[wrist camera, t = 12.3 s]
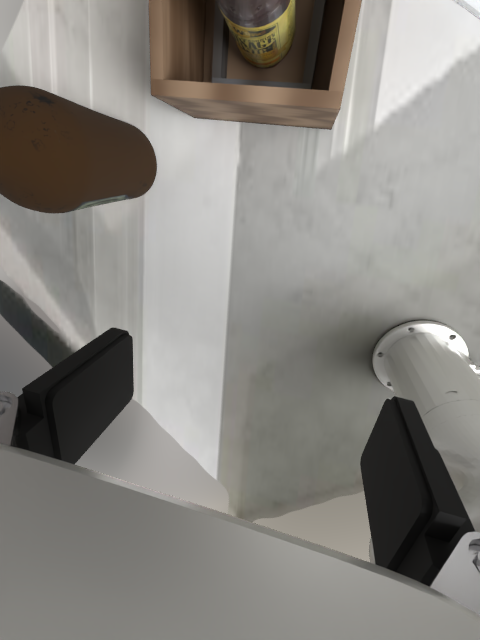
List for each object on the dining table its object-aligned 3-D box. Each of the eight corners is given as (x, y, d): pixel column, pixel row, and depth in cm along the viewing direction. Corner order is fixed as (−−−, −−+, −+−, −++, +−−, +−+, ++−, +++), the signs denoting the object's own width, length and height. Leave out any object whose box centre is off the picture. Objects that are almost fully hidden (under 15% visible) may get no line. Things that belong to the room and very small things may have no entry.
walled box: (369, -66, 29) (403, -207, 18) (331, 129, 36) (339, 109, 25) (199, -65, 32) (143, -189, 21) (195, 117, 39) (151, 94, 28)
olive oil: (87, 113, 41) (-175, 37, 19) (161, 121, 40) (-29, 48, 17) (95, 197, 46) (-107, 216, 23) (161, 207, 44) (12, 236, 22)
